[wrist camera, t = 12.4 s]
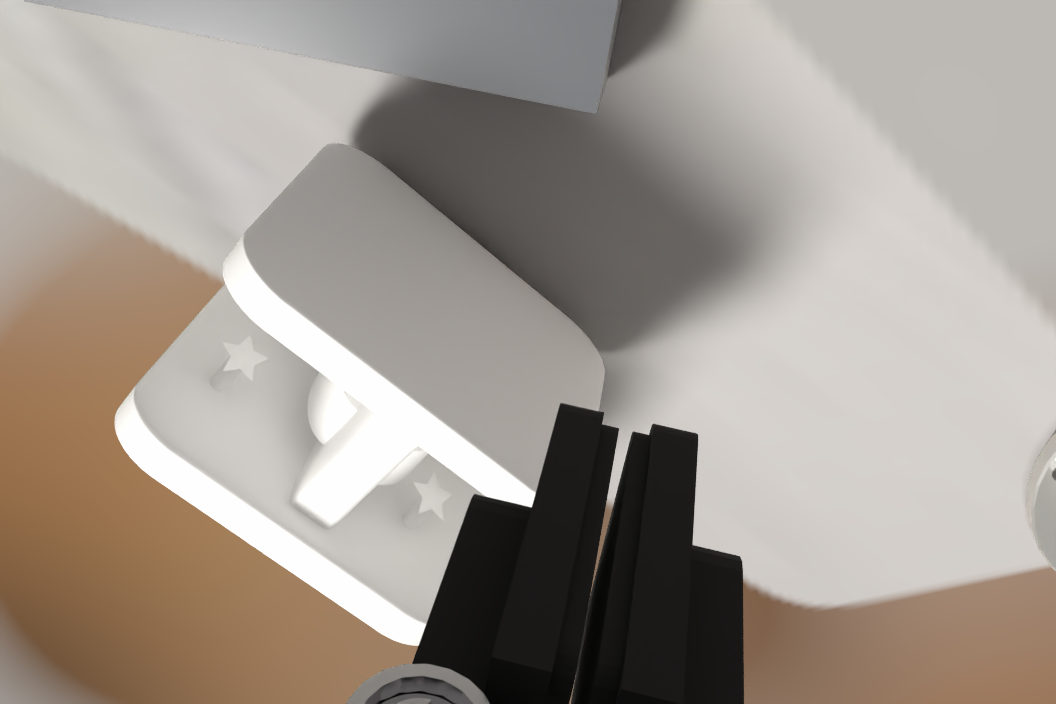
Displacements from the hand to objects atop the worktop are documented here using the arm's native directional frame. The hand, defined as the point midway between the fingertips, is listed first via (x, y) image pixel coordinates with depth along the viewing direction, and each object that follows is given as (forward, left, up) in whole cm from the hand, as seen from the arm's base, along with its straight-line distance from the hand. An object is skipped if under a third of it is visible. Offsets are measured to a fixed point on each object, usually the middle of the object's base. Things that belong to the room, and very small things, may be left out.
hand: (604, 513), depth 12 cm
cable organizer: (+8, +15, -27) cm, 32 cm away
